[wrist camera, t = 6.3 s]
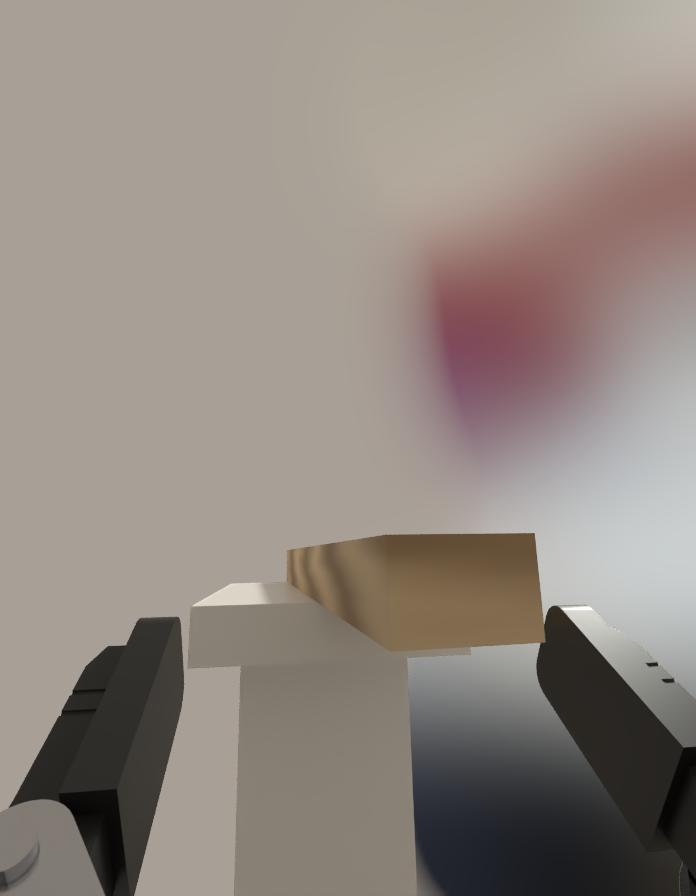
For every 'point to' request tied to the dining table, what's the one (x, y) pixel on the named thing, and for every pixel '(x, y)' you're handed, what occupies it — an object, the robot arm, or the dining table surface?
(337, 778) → the stand
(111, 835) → the robot arm
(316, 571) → the slat
